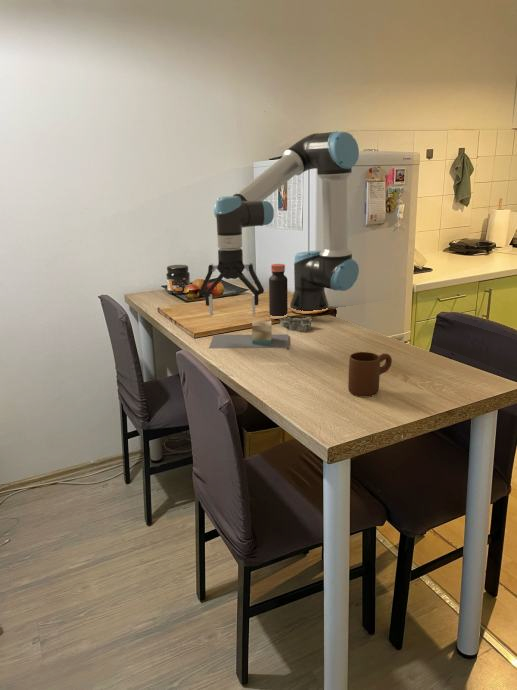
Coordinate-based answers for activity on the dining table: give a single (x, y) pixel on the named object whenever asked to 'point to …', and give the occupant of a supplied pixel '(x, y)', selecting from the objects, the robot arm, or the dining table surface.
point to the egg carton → (296, 323)
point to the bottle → (278, 291)
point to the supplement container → (177, 278)
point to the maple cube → (261, 332)
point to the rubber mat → (248, 341)
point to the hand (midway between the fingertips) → (232, 315)
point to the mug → (366, 372)
